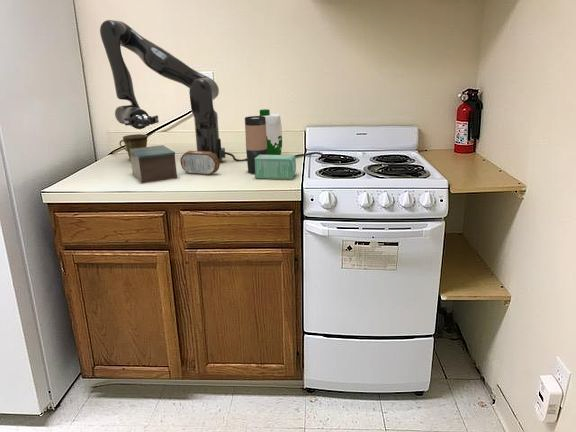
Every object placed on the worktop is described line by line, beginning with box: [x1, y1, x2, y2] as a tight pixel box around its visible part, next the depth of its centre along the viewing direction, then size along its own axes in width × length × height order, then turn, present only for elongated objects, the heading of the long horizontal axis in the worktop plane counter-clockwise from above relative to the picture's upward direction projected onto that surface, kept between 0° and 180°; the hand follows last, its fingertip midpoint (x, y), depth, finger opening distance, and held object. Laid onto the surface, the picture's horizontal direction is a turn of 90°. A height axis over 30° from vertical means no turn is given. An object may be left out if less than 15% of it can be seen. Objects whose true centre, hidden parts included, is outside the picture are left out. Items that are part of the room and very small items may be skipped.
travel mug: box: [244, 115, 267, 175], centre depth 182 cm, size 8×8×20 cm
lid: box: [129, 144, 176, 159], centre depth 179 cm, size 16×13×1 cm
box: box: [254, 154, 297, 180], centre depth 175 cm, size 7×14×8 cm, turn 79°
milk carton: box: [258, 108, 283, 155], centre depth 203 cm, size 9×9×20 cm
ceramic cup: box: [118, 133, 148, 162], centre depth 209 cm, size 13×10×10 cm
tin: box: [180, 150, 220, 176], centre depth 182 cm, size 15×3×8 cm, turn 71°
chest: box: [130, 152, 178, 184], centre depth 181 cm, size 16×13×9 cm
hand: (147, 123), depth 176 cm, fingers closed
